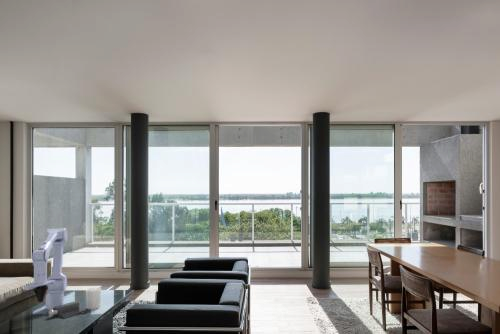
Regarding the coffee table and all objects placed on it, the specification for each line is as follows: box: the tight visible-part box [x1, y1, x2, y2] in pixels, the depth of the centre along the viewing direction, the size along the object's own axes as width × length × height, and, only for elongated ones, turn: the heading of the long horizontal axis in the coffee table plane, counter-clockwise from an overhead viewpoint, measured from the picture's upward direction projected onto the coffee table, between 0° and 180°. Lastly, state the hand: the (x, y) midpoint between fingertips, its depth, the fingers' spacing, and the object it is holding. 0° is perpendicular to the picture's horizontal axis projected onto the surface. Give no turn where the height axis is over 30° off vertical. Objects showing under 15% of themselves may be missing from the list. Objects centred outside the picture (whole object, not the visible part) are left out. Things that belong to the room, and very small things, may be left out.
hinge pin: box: [47, 310, 57, 318], centre depth 196 cm, size 14×4×4 cm, turn 149°
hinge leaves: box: [45, 301, 87, 319], centre depth 198 cm, size 12×16×4 cm
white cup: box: [85, 287, 102, 310], centre depth 207 cm, size 8×8×10 cm
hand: (40, 301), depth 186 cm, fingers closed
